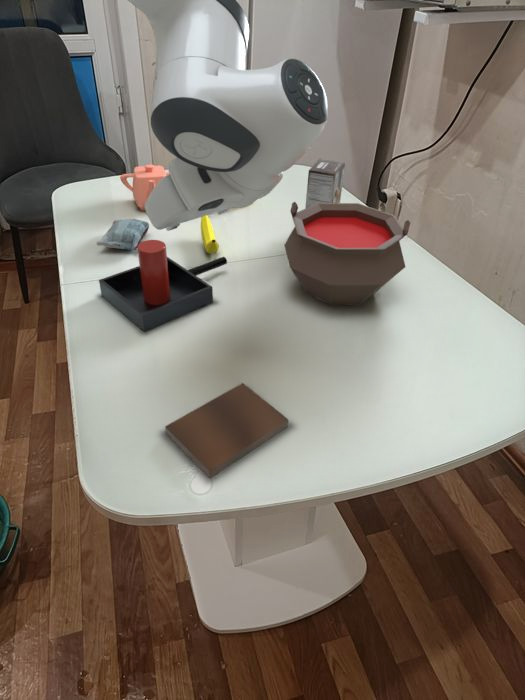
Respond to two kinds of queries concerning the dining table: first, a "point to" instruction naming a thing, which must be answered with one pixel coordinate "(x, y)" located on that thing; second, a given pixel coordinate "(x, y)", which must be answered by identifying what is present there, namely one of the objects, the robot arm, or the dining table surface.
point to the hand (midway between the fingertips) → (195, 216)
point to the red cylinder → (154, 271)
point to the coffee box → (325, 182)
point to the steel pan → (183, 299)
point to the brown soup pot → (344, 250)
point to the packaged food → (125, 234)
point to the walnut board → (226, 429)
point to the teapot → (144, 182)
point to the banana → (208, 235)
